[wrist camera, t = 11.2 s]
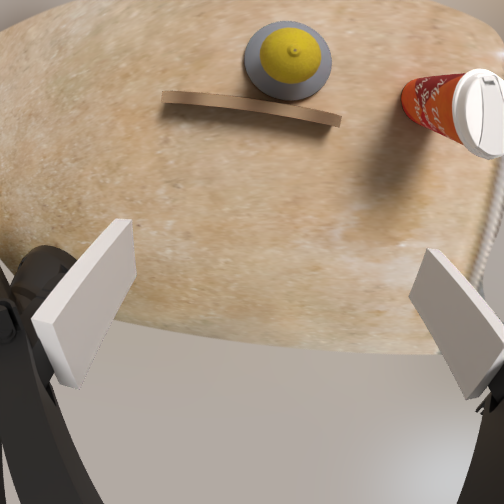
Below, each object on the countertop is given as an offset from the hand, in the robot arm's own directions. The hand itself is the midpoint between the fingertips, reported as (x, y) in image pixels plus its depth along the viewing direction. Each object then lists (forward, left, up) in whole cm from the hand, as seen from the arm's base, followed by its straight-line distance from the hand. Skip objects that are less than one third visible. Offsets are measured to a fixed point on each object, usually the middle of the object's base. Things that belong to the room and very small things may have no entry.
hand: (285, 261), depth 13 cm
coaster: (0, +11, -23) cm, 26 cm away
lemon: (0, +11, -23) cm, 25 cm away
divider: (-3, +5, -23) cm, 24 cm away
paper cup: (+16, +10, -23) cm, 30 cm away
